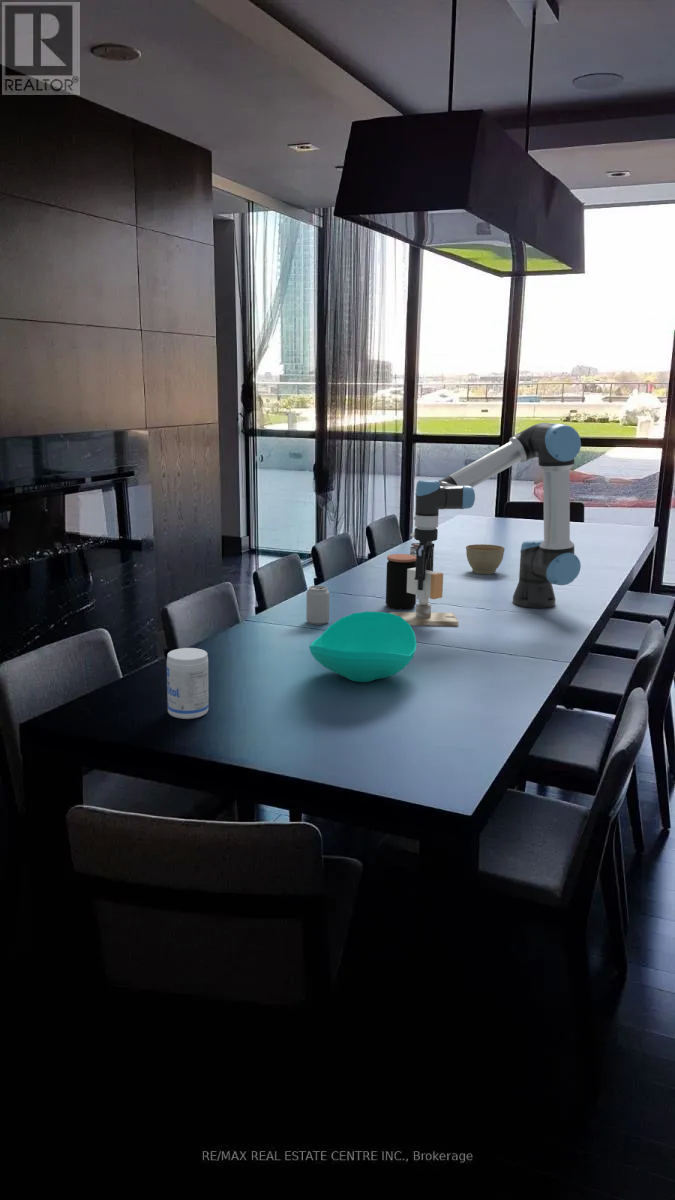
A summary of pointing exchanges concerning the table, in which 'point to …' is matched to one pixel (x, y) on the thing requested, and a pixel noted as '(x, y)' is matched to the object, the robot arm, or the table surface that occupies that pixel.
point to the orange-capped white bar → (432, 584)
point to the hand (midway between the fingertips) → (423, 596)
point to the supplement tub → (187, 683)
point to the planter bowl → (484, 557)
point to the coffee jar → (399, 581)
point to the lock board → (429, 621)
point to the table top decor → (366, 646)
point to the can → (317, 605)
